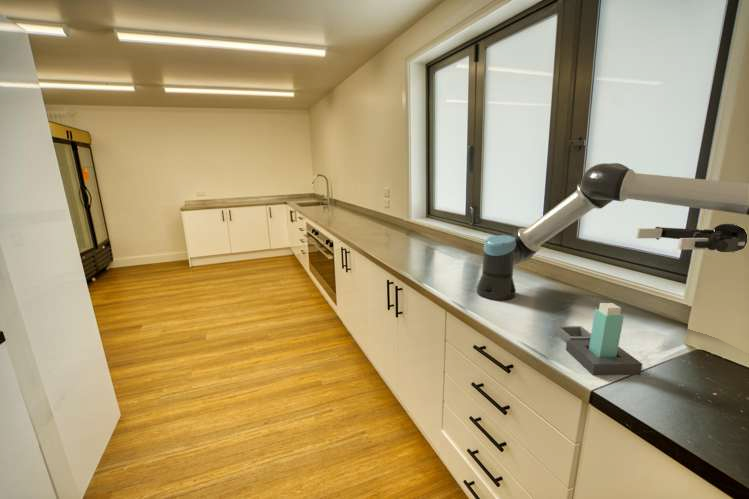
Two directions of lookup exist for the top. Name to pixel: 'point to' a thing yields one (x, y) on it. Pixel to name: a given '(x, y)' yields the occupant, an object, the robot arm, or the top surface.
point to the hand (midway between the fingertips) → (657, 238)
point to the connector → (606, 330)
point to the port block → (603, 360)
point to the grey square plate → (572, 333)
